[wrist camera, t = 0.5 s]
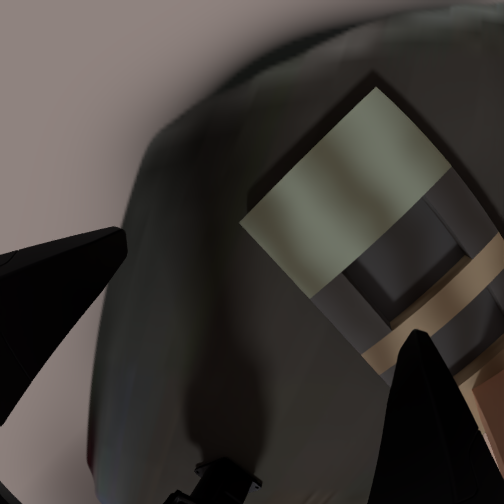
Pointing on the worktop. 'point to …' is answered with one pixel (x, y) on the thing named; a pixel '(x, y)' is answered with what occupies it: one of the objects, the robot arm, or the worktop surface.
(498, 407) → the brown rectangular block
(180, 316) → the worktop surface
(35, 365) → the robot arm
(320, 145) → the board
